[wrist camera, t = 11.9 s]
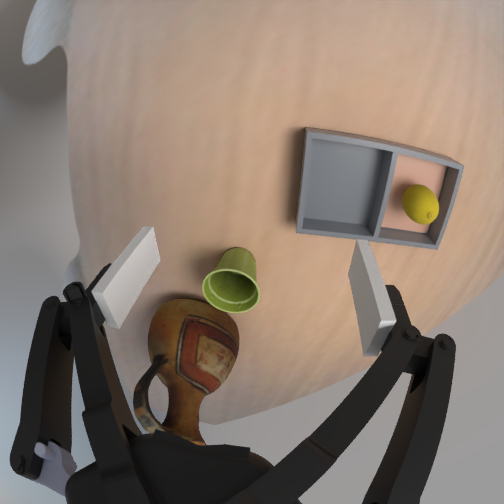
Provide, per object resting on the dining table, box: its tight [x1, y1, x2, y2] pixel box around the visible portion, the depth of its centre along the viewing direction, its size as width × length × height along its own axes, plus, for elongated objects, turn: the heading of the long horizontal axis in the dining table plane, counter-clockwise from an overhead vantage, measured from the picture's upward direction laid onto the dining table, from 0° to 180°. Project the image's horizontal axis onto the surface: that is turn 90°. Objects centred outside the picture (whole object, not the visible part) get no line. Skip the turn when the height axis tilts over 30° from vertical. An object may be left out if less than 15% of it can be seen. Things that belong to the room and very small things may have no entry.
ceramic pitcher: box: [133, 299, 239, 446], centre depth 49 cm, size 20×20×30 cm
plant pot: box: [202, 248, 260, 313], centre depth 47 cm, size 9×9×9 cm
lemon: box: [402, 184, 439, 225], centre depth 34 cm, size 6×6×8 cm
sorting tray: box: [296, 127, 464, 250], centre depth 37 cm, size 15×25×4 cm, turn 88°
